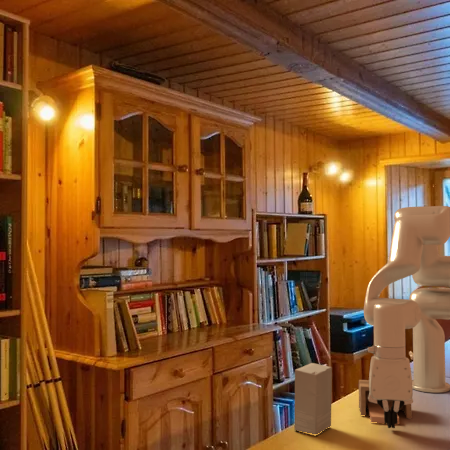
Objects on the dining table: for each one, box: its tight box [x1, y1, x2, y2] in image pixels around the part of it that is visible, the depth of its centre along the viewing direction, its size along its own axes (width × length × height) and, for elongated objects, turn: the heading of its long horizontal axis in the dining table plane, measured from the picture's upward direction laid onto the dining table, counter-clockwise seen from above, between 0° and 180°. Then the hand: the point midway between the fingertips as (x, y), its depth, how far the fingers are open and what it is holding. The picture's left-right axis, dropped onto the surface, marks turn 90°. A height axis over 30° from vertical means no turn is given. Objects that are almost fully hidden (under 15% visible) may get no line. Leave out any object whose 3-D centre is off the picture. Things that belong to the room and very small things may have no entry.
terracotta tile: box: [367, 403, 400, 425], centre depth 148 cm, size 12×7×2 cm, turn 170°
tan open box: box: [358, 379, 412, 419], centre depth 151 cm, size 8×13×8 cm, turn 80°
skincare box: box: [294, 362, 333, 434], centre depth 138 cm, size 8×7×16 cm
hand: (390, 426), depth 137 cm, fingers closed
